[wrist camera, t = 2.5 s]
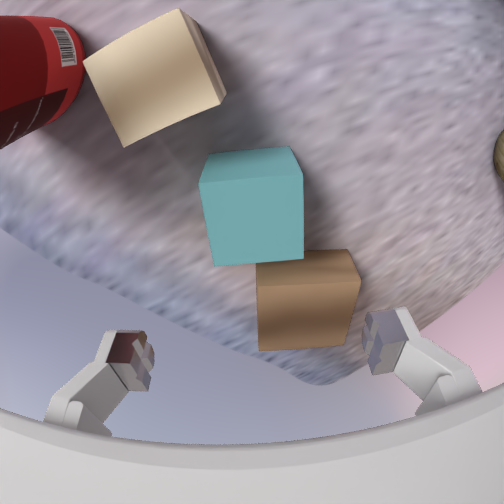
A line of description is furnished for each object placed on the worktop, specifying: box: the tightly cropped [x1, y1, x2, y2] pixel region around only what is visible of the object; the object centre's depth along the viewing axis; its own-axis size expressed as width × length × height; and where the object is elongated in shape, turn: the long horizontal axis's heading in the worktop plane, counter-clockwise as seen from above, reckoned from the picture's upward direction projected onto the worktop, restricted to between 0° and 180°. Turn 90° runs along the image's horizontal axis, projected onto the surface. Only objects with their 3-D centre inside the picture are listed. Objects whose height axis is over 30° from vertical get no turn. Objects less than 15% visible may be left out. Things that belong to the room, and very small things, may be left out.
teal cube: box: [198, 146, 304, 266], centre depth 18 cm, size 5×5×5 cm
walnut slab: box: [256, 249, 361, 351], centre depth 23 cm, size 7×7×4 cm
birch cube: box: [82, 8, 227, 148], centre depth 13 cm, size 5×5×5 cm
